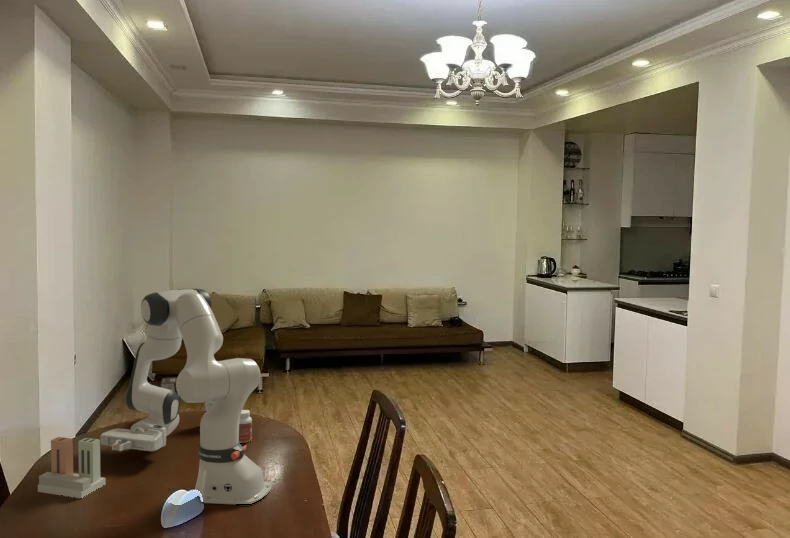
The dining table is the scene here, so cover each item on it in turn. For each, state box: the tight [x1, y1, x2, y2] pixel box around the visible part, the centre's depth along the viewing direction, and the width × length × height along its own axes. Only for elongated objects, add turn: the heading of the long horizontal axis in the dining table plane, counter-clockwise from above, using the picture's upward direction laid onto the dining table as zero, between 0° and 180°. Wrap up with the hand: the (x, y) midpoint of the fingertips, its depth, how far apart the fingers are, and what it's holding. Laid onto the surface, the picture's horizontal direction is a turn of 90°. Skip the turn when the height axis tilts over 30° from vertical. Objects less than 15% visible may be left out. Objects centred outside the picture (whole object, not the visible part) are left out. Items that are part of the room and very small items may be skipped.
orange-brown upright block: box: [50, 436, 74, 476], centre depth 186 cm, size 5×3×12 cm, turn 76°
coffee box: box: [160, 376, 179, 396], centre depth 247 cm, size 9×6×16 cm
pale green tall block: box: [77, 437, 101, 483], centre depth 186 cm, size 5×3×12 cm, turn 76°
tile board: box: [37, 471, 107, 499], centre depth 185 cm, size 15×10×4 cm, turn 76°
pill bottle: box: [239, 409, 253, 443], centre depth 226 cm, size 6×6×11 cm
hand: (115, 448), depth 197 cm, fingers closed
